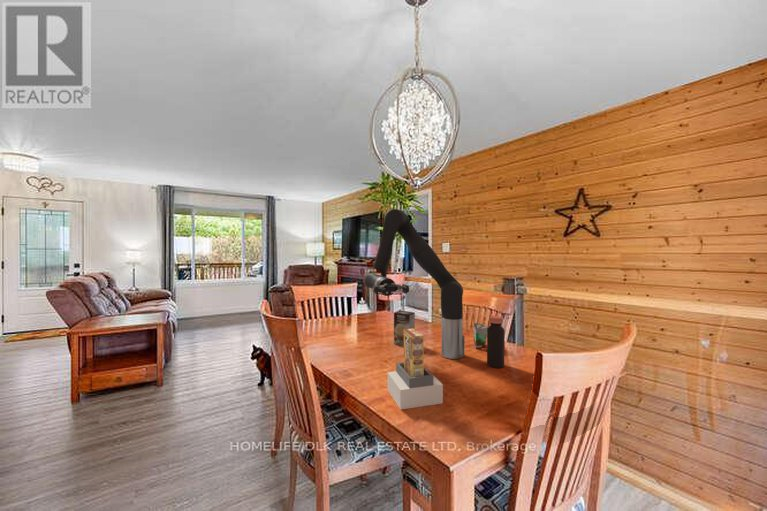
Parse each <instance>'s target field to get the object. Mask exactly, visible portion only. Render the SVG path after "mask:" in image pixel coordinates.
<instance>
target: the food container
mask: <svg viewBox="0 0 767 511" xmlns="http://www.w3.org/2000/svg"><path fill="white" fill-rule="evenodd" d="M487 328H488V326H487V325H485V324H483V323H478V322H474V323H473V343H474V344H475V345H474V349H475V348H476V349H475V350H483V349H485V348H486V347H487ZM482 348H483V349H482Z"/></svg>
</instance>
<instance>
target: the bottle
mask: <svg viewBox="0 0 767 511" xmlns="http://www.w3.org/2000/svg"><path fill="white" fill-rule="evenodd" d="M502 325H503V317H502V316H499V315H490V316H489V326H487V334H486V365H487V366H488V367H491V368H494V369H500V368H504V366H505V339H506V338H505V337H506V336H505V333H506V332H505V328H504V327H503V326H502Z"/></svg>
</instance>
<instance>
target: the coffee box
mask: <svg viewBox="0 0 767 511" xmlns="http://www.w3.org/2000/svg"><path fill="white" fill-rule="evenodd" d="M415 320H416V313H415V312H414V311H413V312H412V311H407V310H396V311H394V312H393V344H394V345H398V346H403V347H404V329H415V323H416V322H415Z"/></svg>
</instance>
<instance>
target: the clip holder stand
mask: <svg viewBox="0 0 767 511" xmlns="http://www.w3.org/2000/svg"><path fill="white" fill-rule="evenodd" d="M443 389H444V384H443V383H442V382H441V381H440V380H439V379H438V378H437V377H436V376H435V375H433V374H432V372H430V371H429V370H428V369H427V367H425V366H424V376H417V377H410V376H409V375H408V373H407V372H406V371H405V370H404V361H403V362H397V363H395V370H394V371H388V372H387V391H388V392H389V394H390V395H391V397H392V399H393V401H395V403H396V404H397V406H398V408H399V410H400V411H401V410H406V409H414V408H415V409H416V408H420V407H427V406H435V405H440V404H443V403H444V398H443V397H444V396H443V395H444V390H443Z"/></svg>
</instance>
